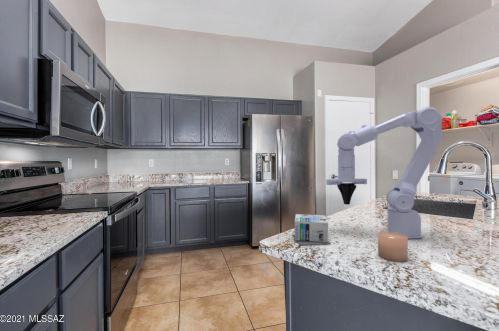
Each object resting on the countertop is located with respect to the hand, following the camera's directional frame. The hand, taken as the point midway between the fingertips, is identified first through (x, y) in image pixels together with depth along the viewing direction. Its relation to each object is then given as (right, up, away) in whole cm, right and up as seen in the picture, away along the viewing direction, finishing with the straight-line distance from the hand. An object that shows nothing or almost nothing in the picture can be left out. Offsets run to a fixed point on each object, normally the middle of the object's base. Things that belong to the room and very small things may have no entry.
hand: (346, 204), depth 89 cm
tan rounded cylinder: (+4, -11, -23) cm, 25 cm away
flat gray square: (-15, -11, -8) cm, 20 cm away
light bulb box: (-9, -7, -7) cm, 14 cm away
